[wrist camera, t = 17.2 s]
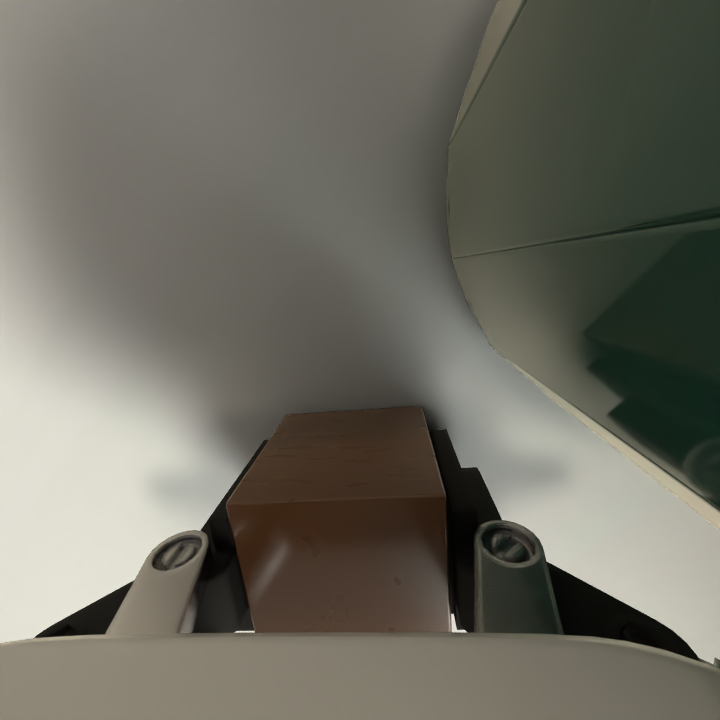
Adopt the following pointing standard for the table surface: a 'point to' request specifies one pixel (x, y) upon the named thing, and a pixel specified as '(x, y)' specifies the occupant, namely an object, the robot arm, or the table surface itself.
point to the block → (345, 526)
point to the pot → (601, 220)
